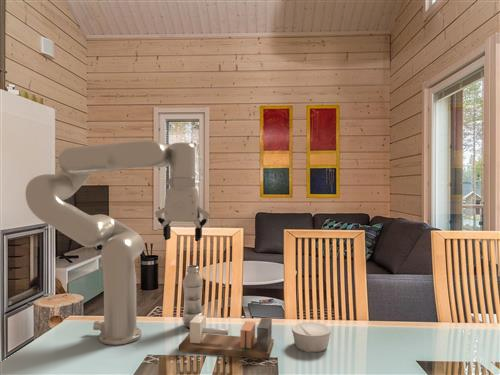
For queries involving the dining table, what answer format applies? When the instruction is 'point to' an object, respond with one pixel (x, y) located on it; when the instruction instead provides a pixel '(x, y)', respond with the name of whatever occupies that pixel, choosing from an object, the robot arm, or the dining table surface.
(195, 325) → the plunger
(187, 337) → the base
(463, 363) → the dining table surface
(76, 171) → the robot arm
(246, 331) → the block
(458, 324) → the dining table surface
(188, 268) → the plastic bottle
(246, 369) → the dining table surface
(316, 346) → the ramekin
